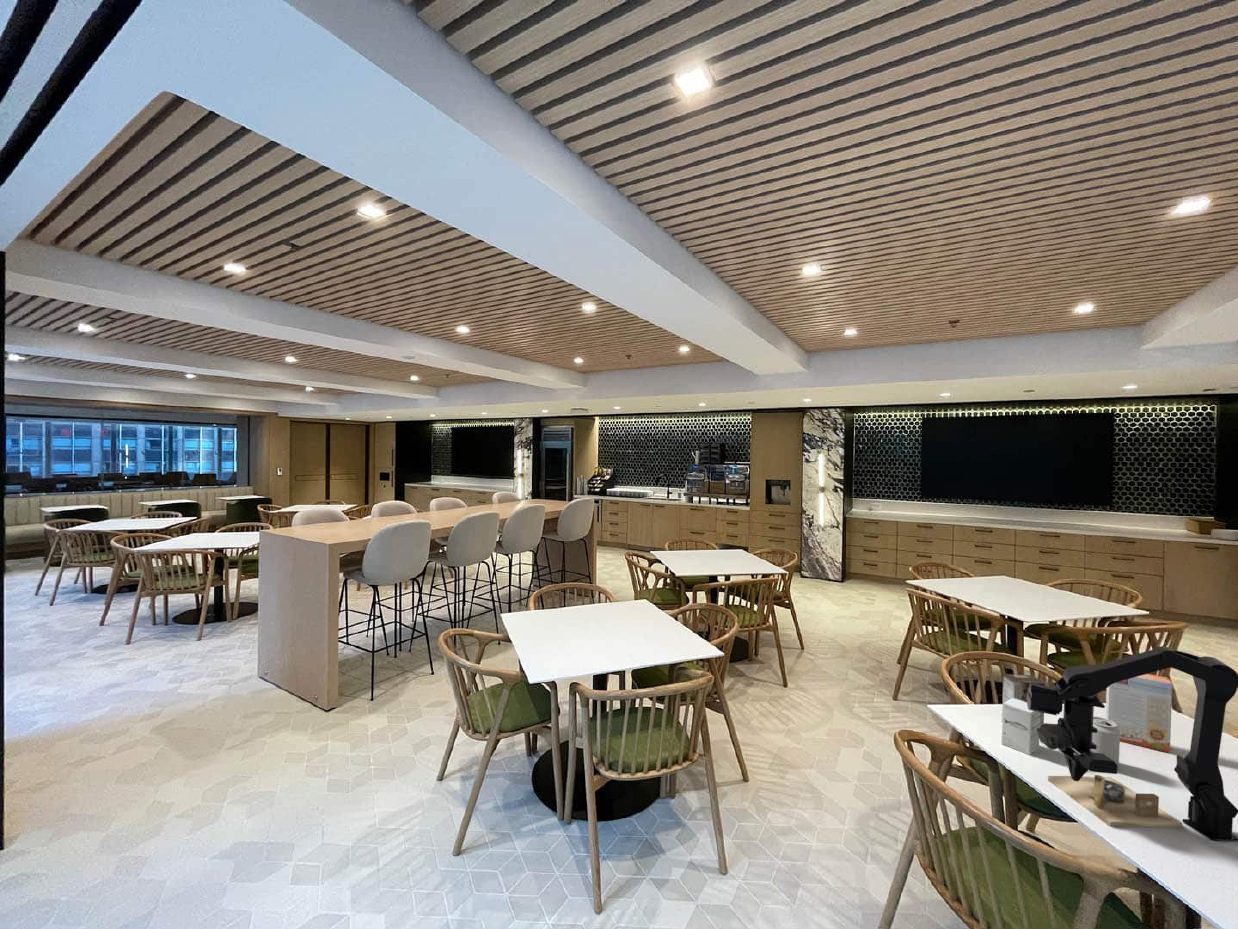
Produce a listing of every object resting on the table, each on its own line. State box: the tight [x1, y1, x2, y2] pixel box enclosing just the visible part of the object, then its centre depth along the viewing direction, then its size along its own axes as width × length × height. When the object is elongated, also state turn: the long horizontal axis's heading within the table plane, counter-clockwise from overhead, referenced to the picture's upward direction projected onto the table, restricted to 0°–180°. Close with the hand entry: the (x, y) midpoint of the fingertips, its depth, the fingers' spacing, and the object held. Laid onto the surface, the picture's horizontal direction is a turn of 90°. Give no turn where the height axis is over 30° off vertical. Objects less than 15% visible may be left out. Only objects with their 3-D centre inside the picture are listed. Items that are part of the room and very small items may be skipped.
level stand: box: [1047, 775, 1183, 829], centre depth 135 cm, size 18×17×6 cm
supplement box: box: [1000, 698, 1041, 756], centre depth 161 cm, size 7×7×13 cm
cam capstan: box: [1094, 774, 1125, 807], centre depth 134 cm, size 11×5×7 cm, turn 121°
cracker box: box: [1105, 673, 1173, 754], centre depth 166 cm, size 14×6×21 cm, turn 53°
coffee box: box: [1001, 673, 1046, 728], centre depth 172 cm, size 9×6×16 cm
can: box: [1091, 715, 1121, 767], centre depth 153 cm, size 8×8×12 cm
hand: (1075, 780), depth 137 cm, fingers closed
